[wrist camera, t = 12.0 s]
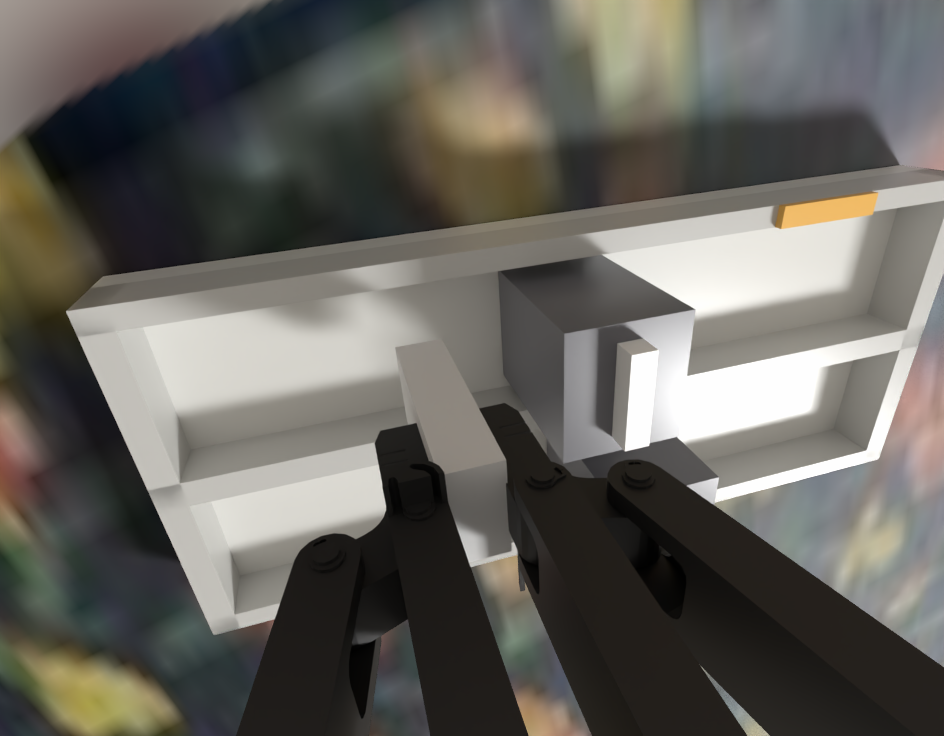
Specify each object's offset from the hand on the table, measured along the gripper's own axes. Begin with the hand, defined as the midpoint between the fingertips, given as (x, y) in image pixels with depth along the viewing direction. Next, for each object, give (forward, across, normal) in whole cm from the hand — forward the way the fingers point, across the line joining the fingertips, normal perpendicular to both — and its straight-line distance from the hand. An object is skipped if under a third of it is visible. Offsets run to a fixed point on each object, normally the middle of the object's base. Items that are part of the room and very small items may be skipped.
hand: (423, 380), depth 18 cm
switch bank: (+4, -7, +3) cm, 9 cm away
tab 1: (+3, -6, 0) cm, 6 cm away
